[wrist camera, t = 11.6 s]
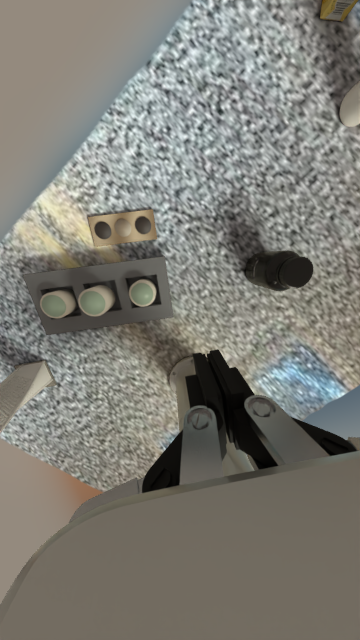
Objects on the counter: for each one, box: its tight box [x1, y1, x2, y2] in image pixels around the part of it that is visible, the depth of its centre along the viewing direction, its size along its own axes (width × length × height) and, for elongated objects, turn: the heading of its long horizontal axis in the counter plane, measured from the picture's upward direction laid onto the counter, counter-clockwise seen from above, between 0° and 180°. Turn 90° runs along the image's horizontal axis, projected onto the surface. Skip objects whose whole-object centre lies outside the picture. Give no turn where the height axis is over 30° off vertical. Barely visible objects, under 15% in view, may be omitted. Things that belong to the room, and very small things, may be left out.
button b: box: [78, 285, 115, 316], centre depth 32 cm, size 5×5×5 cm
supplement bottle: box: [245, 251, 313, 291], centre depth 32 cm, size 7×7×12 cm
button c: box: [40, 289, 79, 319], centre depth 34 cm, size 5×5×5 cm
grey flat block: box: [23, 256, 173, 335], centre depth 36 cm, size 26×12×4 cm, turn 97°
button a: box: [129, 278, 157, 307], centre depth 34 cm, size 5×5×5 cm
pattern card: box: [88, 209, 157, 247], centre depth 33 cm, size 12×5×1 cm, turn 97°
